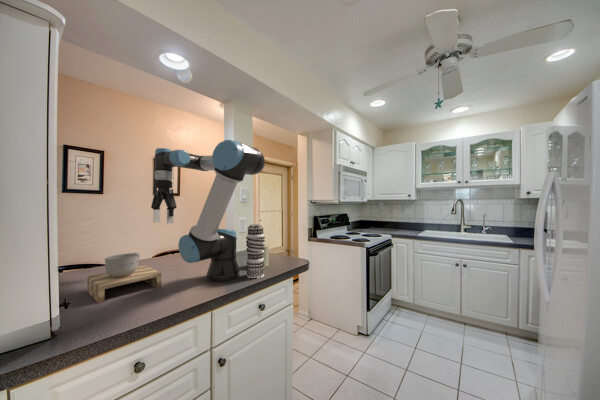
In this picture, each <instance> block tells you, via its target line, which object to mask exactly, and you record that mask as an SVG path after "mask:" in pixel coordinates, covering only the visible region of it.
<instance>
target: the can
mask: <svg viewBox="0 0 600 400" xmlns="http://www.w3.org/2000/svg"><path fill="white" fill-rule="evenodd" d="M263 247H264V249H263V250H264V252H263V258H264V260H263V261H264V263H263V264H264V266H263V267H265V266H268V265H269V245H268V244H265V245H264V246H263ZM268 267H269V266H268ZM265 268H266V267H265Z"/></svg>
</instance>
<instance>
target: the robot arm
mask: <svg viewBox="0 0 600 400" xmlns="http://www.w3.org/2000/svg"><path fill="white" fill-rule="evenodd" d="M265 163H266V159H265V155H264V154H263V152H262V151H261V150H260V149H259V148H255V147H254V146H250V145H248V144H244V143H242V142H239V141H237V140H232V139H224V140H223V141H220V142H219V143H218V144H217V145H216V146H215V147H214V149H213V151H212V154H211V155H197V154H193V153H188V152H187V151H186V150H184V149H174V150H172V149H171V148H166V147H165V148H164V147H157V148H156V149H155V151H154V173H153V174H154V179H155V180H154V188H155V189H154V193H153V198H152V203H151V206H150V208H151V209H152V210H153V218H152V219H153V220H152V222H153V223H156V224H157V223H161V205H162V203H163V201H164V203H165V205H166V207H167V208H166V224H174V220H175V218H174V217H175V216H174V215H175V214H174V212H175V211H174V210H175V209H177V203H176V199H175V195H174V189H172V188H173V174H174V173H173V168H183V169H189V170H196V171H200V172H209V171H214V173H215V177H214V180H213V183H212V185H211V188H210V190H209V193H208V195H207V197H206V200H205V201H204V202H205V203H204V205H203V207H202V210H201V212H200V215H199V218H198V220H197V222H196V224H194V225H193V226H191V228H190V229H189V232H188V234H184V235H183V236H181V237H179V239H178V252H179V254H180V257H181V258H182V259H183V261H184V262H186V263H189V264H192V263H198V262H202V261H206V260H209V259H210V262H209V266H208V269H207V272H206V279H207V281H210V282H228V281H231V280H235V279H237V278H239V277H240V273H241V271H240V267H239V265H238V261H237V239H238V238H237V231H236V230H235V229H229V228H228V229H227V228H220V226H221V223H222V220H223V218H224V216H225V213H226V211H227V208H228V207H229V206H228V205H229V204H230V201H231V199H232V196H233V195H234V192H235V189H236V188H237V185H238V183H241V182H243V181H244V178H245V176H246V175H251V176H254V175H257V174H259V173H261V172H262V171H263V170H264V168H265V165H266V164H265Z"/></svg>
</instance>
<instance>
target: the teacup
mask: <svg viewBox="0 0 600 400" xmlns="http://www.w3.org/2000/svg"><path fill="white" fill-rule="evenodd" d="M139 260H140V254H139V253H138V252H130V253H123V254H116V255H112V256H111V255H110V256H107V257H105V258H104V263H105V265H104V266H105V273H107V274H108V275H110V276H112V277H122V276H127V275H130V274H132V273H134V271H135V270H136V269H137V268H138V267H139Z"/></svg>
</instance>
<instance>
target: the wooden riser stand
mask: <svg viewBox="0 0 600 400" xmlns="http://www.w3.org/2000/svg"><path fill="white" fill-rule="evenodd" d="M86 281H87V285H86V286H87V288H86V291H87V293H88V294H89V295H90V296H91V297H92V298H93V299H94V300H95V301H96V303H98V304H101V303H104V302H105V293H106V292H105V291H106V289H112V288H115V287H120V286H124V285H129V284H132V283H138V282H142V281H144V282H145V283H147V284H149V285H151V286H153V287H154V288H156V289H158V288H161V287H162V272H161V271H159V270H157V269H154V268H153V267H150V266H147V265H141V266H138V268H137V269H136V270H135V271H134V273H132V274H130V275H127V276H122V277H112V276H110V275H108V274H107V273H106V272H103V273H98V274H93V275H88V276H87V280H86Z"/></svg>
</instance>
